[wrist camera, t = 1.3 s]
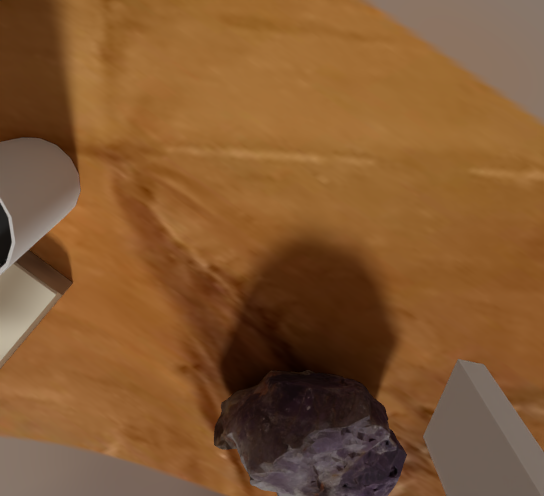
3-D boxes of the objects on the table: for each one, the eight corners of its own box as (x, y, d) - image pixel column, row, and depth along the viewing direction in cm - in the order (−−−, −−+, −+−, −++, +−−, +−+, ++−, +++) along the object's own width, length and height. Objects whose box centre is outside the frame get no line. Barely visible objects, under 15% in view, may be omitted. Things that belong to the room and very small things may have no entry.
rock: (343, 450, 43) (397, 352, 39) (377, 551, 35) (450, 439, 31) (205, 425, 40) (250, 315, 36) (207, 530, 31) (266, 402, 28)
